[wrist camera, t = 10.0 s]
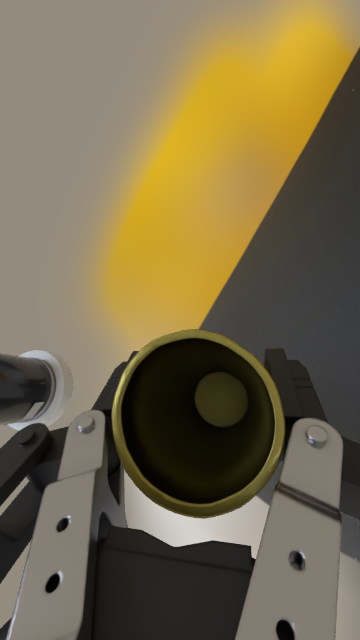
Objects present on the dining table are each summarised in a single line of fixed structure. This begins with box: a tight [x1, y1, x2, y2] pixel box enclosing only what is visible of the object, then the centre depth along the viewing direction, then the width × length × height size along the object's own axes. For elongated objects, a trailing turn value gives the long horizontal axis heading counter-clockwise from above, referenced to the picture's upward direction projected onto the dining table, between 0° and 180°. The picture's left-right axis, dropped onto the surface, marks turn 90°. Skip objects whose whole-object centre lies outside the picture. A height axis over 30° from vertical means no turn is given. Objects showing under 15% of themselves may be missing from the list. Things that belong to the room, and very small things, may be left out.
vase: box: [112, 329, 285, 518], centre depth 14 cm, size 6×6×14 cm
